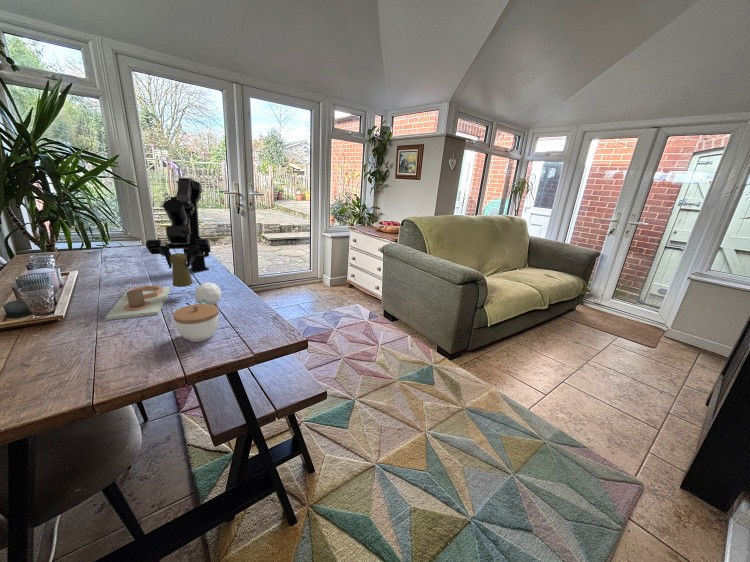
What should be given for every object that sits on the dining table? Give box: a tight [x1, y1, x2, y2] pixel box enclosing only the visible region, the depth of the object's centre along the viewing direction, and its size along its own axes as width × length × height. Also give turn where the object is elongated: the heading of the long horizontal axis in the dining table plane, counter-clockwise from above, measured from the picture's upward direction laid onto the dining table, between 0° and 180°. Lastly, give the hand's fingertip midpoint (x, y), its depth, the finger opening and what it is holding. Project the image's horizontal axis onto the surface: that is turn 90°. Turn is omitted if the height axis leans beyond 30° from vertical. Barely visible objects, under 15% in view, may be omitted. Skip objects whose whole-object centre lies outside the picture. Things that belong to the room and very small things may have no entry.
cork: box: [170, 252, 194, 288], centre depth 105 cm, size 6×6×11 cm
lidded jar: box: [172, 303, 220, 343], centre depth 82 cm, size 11×11×9 cm
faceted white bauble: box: [194, 281, 222, 305], centre depth 101 cm, size 8×8×12 cm
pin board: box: [105, 284, 172, 321], centre depth 101 cm, size 23×13×6 cm, turn 24°
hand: (179, 267), depth 104 cm, fingers closed on cork, 5 cm apart
